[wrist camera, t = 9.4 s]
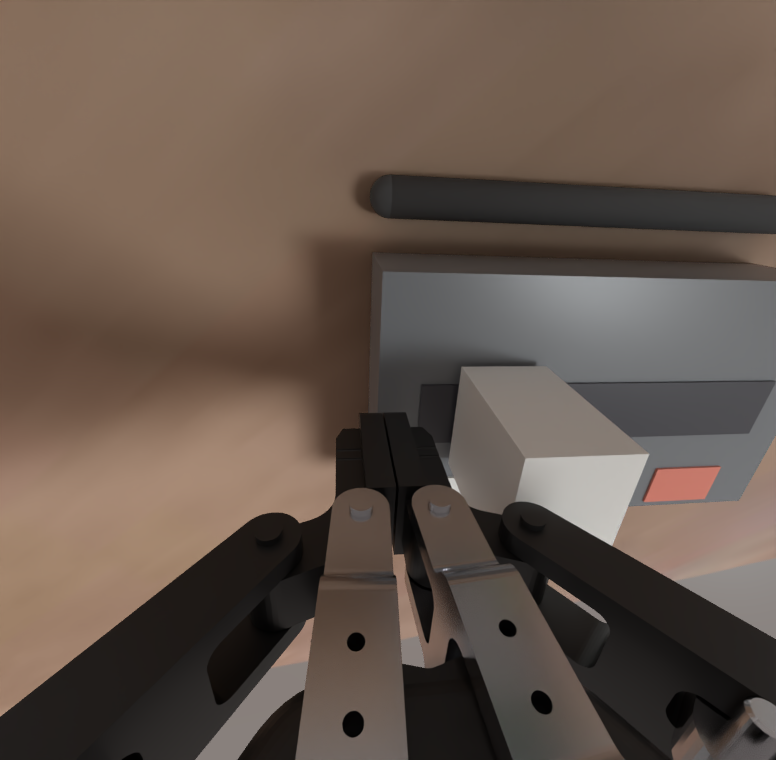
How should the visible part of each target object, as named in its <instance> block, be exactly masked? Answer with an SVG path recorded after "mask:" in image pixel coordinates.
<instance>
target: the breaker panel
mask: <svg viewBox="0 0 776 760" xmlns="http://www.w3.org/2000/svg"><path fill="white" fill-rule="evenodd" d="M486 366H546V367H548V368H549V369H550V370H551V371H552V372H554V373H555V374H556V375H557V376H558V377H559V378H561V379H562V380H563V381H564V382H565V383H567V384H568V385H569V386H570V387H571V388H572V389H574V390H575V391H576V392H577V393H578V394H579V395H581V396H582V397H583V398H584V399H585V400H587V401H588V402H589V403H590V404H591V405H592V406H594V407H595V408H596V409H597V410H598V411H599V412H601V413H602V414H603V415H604V416H605V417H607V418H608V419H609V420H610V421H611V422H612V423H614V424H615V425H616V426H617V427H618V428H619V429H621V430H622V431H623V432H624V433H625V434H627V435H628V436H629V437H630V438H631V439H632V440H634V441H635V442H636V443H637V444H638V445H640V446H641V447H642V448H643V449H644V450H645V451H647V452H648V453H649V456H648V459H647V461H646V464H645V466H644V469H643V471H642V474H641V476H640V478H639V481H638V483H637V486H636V488H635V491H634V493H633V496H632V498H631V500H630V503H629V505H628V506H645V505H663V504H682V503H701V502H720V501H738V500H739V499H740V498H741V496H742V494H743V492H744V491H745V489H746V487H747V485H748V483H749V482H750V480H751V478H752V476H753V475H754V473H755V471H756V469H757V468H758V466H759V464H760V462H761V460H762V459H763V457H764V455H765V453H766V452H767V450H768V448H769V446H770V445H771V443H772V441H773V439H774V437H775V436H776V268H774V267H768V266H763V265H757V264H738V263H705V262H672V261H639V260H606V259H573V258H540V257H507V256H474V255H441V254H408V253H375V252H372V287H371V326H370V364H369V403H368V413H382V415H383V412H406V414H407V418H408V421H409V424H410V427H423V428H424V429H425V430H426V431H427V432H428V433H429V434H431V435H432V437H433V440H434V442H435V445H436V448H437V450H438V453H439V457H440V458H441V461H442V463H443V466H444V469H445V471H446V474H447V477H448V479H449V482H450V485H451V487H452V489H454V490H456V491H457V492H459V493H460V491H459V489H458V486H457V484H456V481H455V479H454V476H453V474H452V471H451V469H450V466H449V464H448V462H449V454H450V447H451V440H452V433H453V425H454V418H455V411H456V404H457V396H458V389H459V382H460V375H461V367H486ZM460 494H461V493H460Z"/></svg>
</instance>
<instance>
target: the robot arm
mask: <svg viewBox="0 0 776 760" xmlns="http://www.w3.org/2000/svg"><path fill="white" fill-rule="evenodd" d="M392 545H393V551H394V555H395V554H404V557H405V563H406V568H405V584H406V588H407V592H408V596H409V600H410V604H411V608H412V612H413V616H414V620H415V624H416V628H417V632H418V635H419V639H420V643H421V647H422V652H423V657H424V665H425V668H422V667H416V666H411V665H406V664H402V657H401V640H400V624H399V609H398V593H397V581H396V576H395V575H394V573H393V557H392ZM549 579H550V580H552V581H553V582H554V583H556V584H557V585H559V586H560V587H562V588H563V589H565V590H566V591H568V592H569V593H571V594H572V595H573V596H575V597H576V598H578V599H579V600H581V601H582V602H584V603H585V604H587V605H588V606H590V607H591V608H592V609H594V610H595V611H597V612H598V613H599V614H600V615H601V616H602V617H603V618H604V619H605V620H606V622H607V623H603V622H601V621H599V620H598V619H596V618H595V617H593V616H592V615H590V614H589V613H588V612H586V611H585V610H583V609H582V608H580V607H579V606H577V605H576V604H575V603H573V602H572V601H570V600H569V599H567V598H566V597H565V596H563V595H562V594H560V593H559V592H557V591H556V590H555V589H553V588H552V587H550V586H549V585H547V583H548V580H549ZM313 617H314V624H313V632H312V639H311V647H310V654H309V662H308V669H307V676H306V684H305V690H303V691H301V692H299V693H297V694H296V695H295V696H293V697H292V698H291V699H289V700H288V701H287V702H285V703H284V704H283V705H282V706H281V707H280V708H279V709H277V710H276V711H275V712H274V713H273V714H272V715H271V716H270V717H269V719H268V720H267V721H266V722H265V723H264V724H263V726H262V727H261V728H260V729H259V730H258V732H257V733H256V734H255V736H254V737H253V738H252V740H251V741H250V743H249V744H248V746H247V747H246V748H245V750H244V751H243V753H242V754H241V755H240V757H239V758H238V760H776V639H774V638H773V637H771V636H769V635H767V634H766V633H764V632H762V631H760V630H759V629H757V628H755V627H753V626H752V625H750V624H748V623H746V622H744V621H743V620H741V619H739V618H738V617H735V616H734V615H732V614H731V613H729V612H727V611H725V610H724V609H722V608H720V607H718V606H716V605H715V604H713V603H711V602H709V601H708V600H706V599H704V598H702V597H701V596H699V595H697V594H695V593H694V592H692V591H690V590H688V589H686V588H685V587H683V586H681V585H680V584H678V583H676V582H674V581H673V580H671V579H669V578H667V577H666V576H664V575H662V574H660V573H659V572H657V571H655V570H653V569H652V568H650V567H648V566H646V565H644V564H643V563H641V562H639V561H637V560H636V559H634V558H632V557H630V556H629V555H627V554H625V553H623V552H622V551H620V550H618V549H616V548H615V547H613V546H611V545H609V544H608V543H606V542H604V541H602V540H601V539H599V538H597V537H595V536H594V535H592V534H590V533H588V532H587V531H585V530H583V529H581V528H580V527H578V526H576V525H574V524H573V523H571V522H569V521H567V520H565V519H564V518H562V517H560V516H558V515H557V514H555V513H553V512H551V511H550V510H548V509H546V508H544V507H542V506H540V505H538V504H535V503H531V502H522V501H521V502H514V503H511V504H509V505H508V506H506V507H505V509H504V510H503V513H502V515H501V514H496V513H491V512H486V511H482V510H478V509H475V508H472V507H470V506H468V504H467V502H466V500H465V498H464V497H463V496H462V495H461V494H460V493H459V492H457V491H456V490H454V489H452V487H451V485H450V482H449V479H448V477H447V474H446V471H445V469H444V466H443V463H442V461H441V458H440V457H439V453H438V450H437V448H436V445H435V442H434V440H433V437H432V435H431V434H429V433H428V432H427V431H426V430H425V429H424V428H423V427H410V424H409V421H408V418H407V414H406V412H383V415H382V413H359V429H343V430H342V431H341V433H340V434H339V435H338V437H337V438H336V496H335V500H334V503H333V505H332V506H331V507H330V509H329V510H328V511H326V512H325V513H324V514H322V515H321V516H319V517H317V518H315V519H312V520H309V521H306V522H303V523H299V522H298V521H297V520H296V519H295V518H294V517H292V516H290V515H288V514H284V513H267V514H263V515H260V516H258V517H256V518H254V519H252V520H250V521H249V522H247V523H246V524H245V525H244V526H242V527H241V528H240V529H239V530H237V531H236V532H235V533H233V534H232V535H231V536H230V537H228V538H227V539H226V540H225V541H223V542H222V543H221V544H219V545H218V546H217V547H216V548H214V549H213V550H212V551H211V552H209V553H208V554H207V555H205V556H204V557H203V558H202V559H200V560H199V561H198V562H197V563H195V564H194V565H193V566H191V567H190V568H189V569H188V570H186V571H185V572H184V573H183V574H181V575H180V576H179V577H177V578H176V579H175V580H174V581H172V582H171V583H170V584H169V585H167V586H166V587H165V588H163V589H162V590H161V591H160V592H158V593H157V594H156V595H155V596H153V597H152V598H151V599H149V600H148V601H147V602H146V603H144V604H143V605H142V606H141V607H139V608H138V609H137V610H136V611H134V612H133V613H132V614H130V615H129V616H128V617H127V618H125V619H124V620H123V621H122V622H120V623H119V624H118V625H116V626H115V627H114V628H113V629H111V630H110V631H109V632H108V633H106V634H105V635H104V636H102V637H101V638H100V639H99V640H97V641H96V642H95V643H94V644H92V645H91V646H90V647H88V648H87V649H86V650H85V651H83V652H82V653H81V654H80V655H78V656H77V657H76V658H74V659H73V660H72V661H71V662H69V663H68V664H67V665H66V666H64V667H63V668H62V669H60V670H59V671H58V672H57V673H55V674H54V675H53V676H52V677H50V678H49V679H48V680H46V681H45V682H44V683H43V684H41V685H40V686H39V687H38V688H36V689H35V690H34V691H33V692H31V693H30V694H29V695H27V696H26V697H25V698H24V699H22V700H21V701H20V702H19V703H17V704H16V705H15V706H13V707H12V708H11V709H10V710H8V711H7V712H6V713H5V714H3V715H2V716H1V717H0V760H195V759H196V758H197V757H198V755H199V754H200V753H201V752H202V750H203V749H204V748H205V747H206V745H207V744H208V743H209V742H210V741H211V739H212V738H213V737H214V736H215V735H216V733H217V732H218V731H219V730H220V728H221V727H222V726H223V725H224V724H225V723H226V721H227V720H228V719H229V718H230V716H231V715H232V714H233V713H234V712H235V710H236V709H237V708H238V707H239V705H240V704H241V703H242V702H243V700H244V699H245V698H246V697H247V696H248V694H249V693H250V692H251V691H252V690H253V688H254V687H255V686H256V685H257V684H258V682H259V681H260V680H261V679H262V678H263V676H264V675H265V674H266V672H267V671H268V670H269V669H270V668H271V667H272V665H273V664H274V663H275V662H276V660H277V659H278V658H279V657H280V656H281V654H282V653H283V652H284V651H285V650H286V648H287V647H288V646H289V645H290V643H291V642H292V641H293V640H294V639H295V637H296V636H297V635H298V634H299V633H300V631H301V630H302V628H303V627H304V624H305V622H306V620H308V619H311V618H313Z"/></svg>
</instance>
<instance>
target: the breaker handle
mask: <svg viewBox="0 0 776 760" xmlns="http://www.w3.org/2000/svg"><path fill="white" fill-rule="evenodd" d="M648 456H649V453H648V452H647V451H645V450H644V449H643V448H642V447H641V446H640V445H638V444H637V443H636V442H635V441H634V440H632V439H631V438H630V437H629V436H628V435H627V434H625V433H624V432H623V431H622V430H621V429H619V428H618V427H617V426H616V425H615V424H614V423H612V422H611V421H610V420H609V419H608V418H607V417H605V416H604V415H603V414H602V413H601V412H599V411H598V410H597V409H596V408H595V407H594V406H592V405H591V404H590V403H589V402H588V401H587V400H585V399H584V398H583V397H582V396H581V395H579V394H578V393H577V392H576V391H575V390H574V389H572V388H571V387H570V386H569V385H568V384H567V383H565V382H564V381H563V380H562V379H561V378H559V377H558V376H557V375H556V374H555V373H554V372H552V371H551V370H550V369H549V368H548V367H546V366H486V367H461V375H460V382H459V389H458V396H457V404H456V411H455V418H454V425H453V433H452V440H451V447H450V454H449V462H448V464H449V466H450V469H451V471H452V474H453V476H454V479H455V481H456V484H457V486H458V489H459V491H460V493H461V495H462V496H463V497H464V498H465V500H466V502H467V504H468V506H470V507H472V508H475V509H478V510H482V511H486V512H491V513H496V514H501V515H502V513H503V510H504V509H505V507H506V506H508V505H509V504H511V503H514V502H521V501H522V502H531V503H535V504H538V505H540V506H542V507H544V508H546V509H548V510H550V511H551V512H553V513H555V514H557V515H558V516H560V517H562V518H564V519H565V520H567V521H569V522H571V523H573V524H574V525H576V526H578V527H580V528H581V529H583V530H585V531H587V532H588V533H590V534H592V535H594V536H595V537H597V538H599V539H601V540H602V541H604V542H606V543H608V544H609V545H611V546H612V544H613V542H614V540H615V537H616V535H617V532H618V530H619V527H620V525H621V522H622V520H623V518H624V515H625V513H626V510H627V508H628V505H629V503H630V500H631V498H632V496H633V493H634V491H635V488H636V486H637V483H638V481H639V478H640V476H641V474H642V471H643V469H644V466H645V464H646V461H647V459H648Z"/></svg>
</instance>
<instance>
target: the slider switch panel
mask: <svg viewBox="0 0 776 760" xmlns="http://www.w3.org/2000/svg"><path fill="white" fill-rule="evenodd" d="M370 202H371V205H372V207H373V209H374V210H375V212H376V213H377V214H378V215H380V216H382V217H384V218H395V219H419V220H443V221H468V222H492V223H516V224H541V225H565V226H589V227H614V228H638V229H662V230H686V231H711V232H735V233H759V234H776V196H770V195H752V194H733V193H715V192H697V191H679V190H661V189H642V188H624V187H606V186H588V185H569V184H551V183H533V182H515V181H496V180H478V179H460V178H442V177H424V176H405V175H384V176H382V177H380V178H378V179H377V180H376V181H375V183H374V184H373V186H372V188H371V191H370Z"/></svg>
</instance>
